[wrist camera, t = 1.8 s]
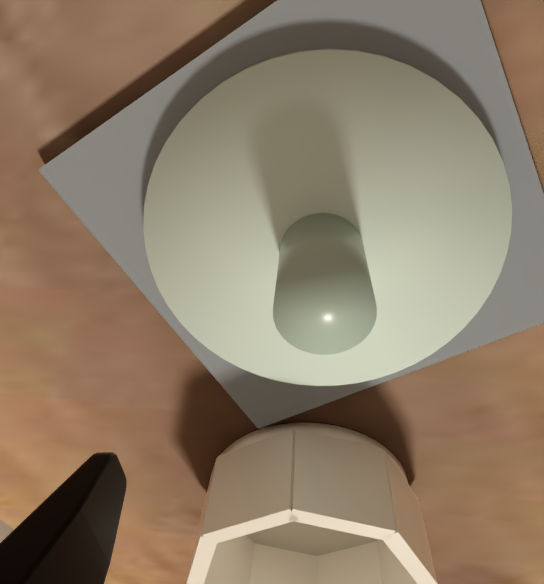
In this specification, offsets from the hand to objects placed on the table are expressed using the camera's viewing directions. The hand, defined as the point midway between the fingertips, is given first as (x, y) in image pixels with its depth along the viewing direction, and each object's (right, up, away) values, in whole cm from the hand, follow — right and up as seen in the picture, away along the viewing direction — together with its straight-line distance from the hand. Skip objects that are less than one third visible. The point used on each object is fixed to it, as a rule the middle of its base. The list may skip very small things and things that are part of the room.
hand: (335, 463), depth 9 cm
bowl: (+1, -8, +17) cm, 19 cm away
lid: (+1, +5, +8) cm, 10 cm away
